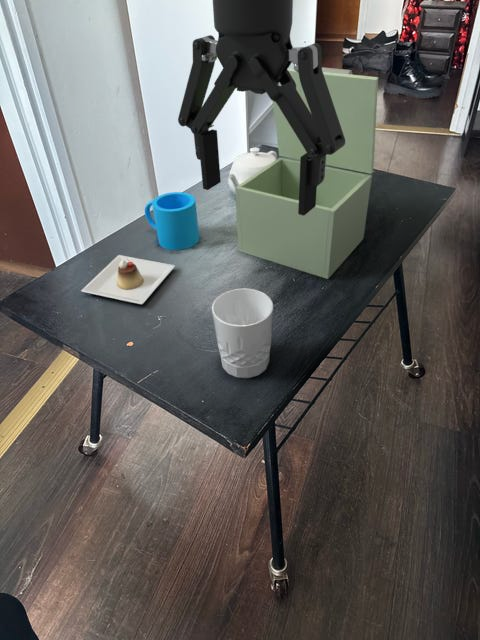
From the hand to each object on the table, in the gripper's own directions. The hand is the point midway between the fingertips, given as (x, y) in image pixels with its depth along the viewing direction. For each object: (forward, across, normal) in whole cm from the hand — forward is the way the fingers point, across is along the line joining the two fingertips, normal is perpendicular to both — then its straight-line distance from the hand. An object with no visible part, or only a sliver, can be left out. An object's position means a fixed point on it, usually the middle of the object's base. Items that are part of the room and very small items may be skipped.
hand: (256, 197), depth 57 cm
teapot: (+22, -28, +41) cm, 54 cm away
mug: (+22, -31, +16) cm, 42 cm away
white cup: (+22, +1, -6) cm, 23 cm away
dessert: (+22, -27, 0) cm, 35 cm away
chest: (+22, -7, +26) cm, 35 cm away
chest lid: (+1, -8, +32) cm, 33 cm away
